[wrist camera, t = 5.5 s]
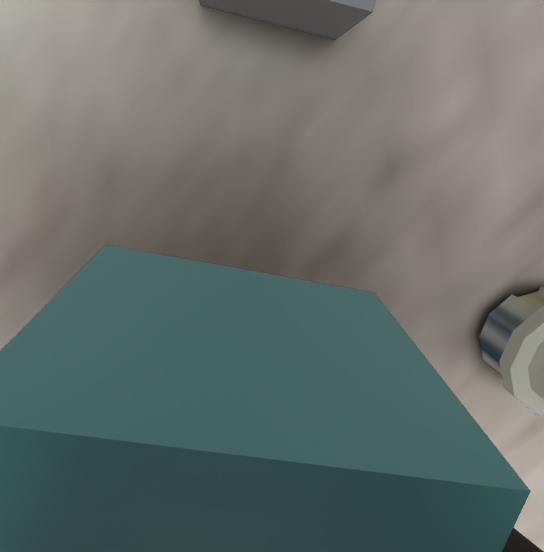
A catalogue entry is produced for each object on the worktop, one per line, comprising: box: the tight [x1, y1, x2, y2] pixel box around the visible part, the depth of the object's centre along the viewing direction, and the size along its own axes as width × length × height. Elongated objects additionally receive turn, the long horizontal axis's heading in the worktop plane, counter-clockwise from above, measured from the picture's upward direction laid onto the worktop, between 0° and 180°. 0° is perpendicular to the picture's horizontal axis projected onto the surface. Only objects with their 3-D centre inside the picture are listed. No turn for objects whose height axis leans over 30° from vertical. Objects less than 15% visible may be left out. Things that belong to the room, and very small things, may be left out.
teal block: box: [0, 245, 530, 552], centre depth 7 cm, size 5×5×5 cm
